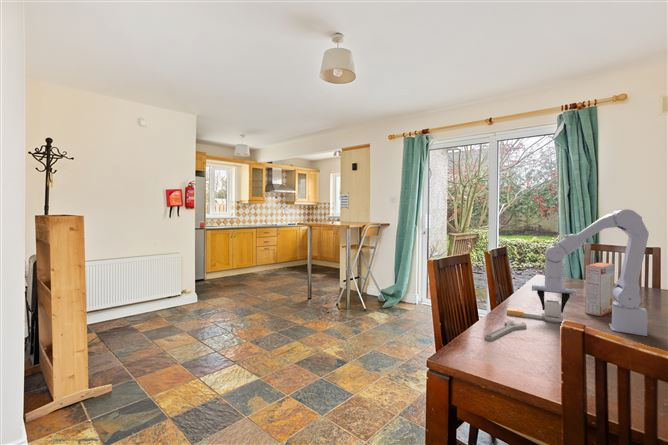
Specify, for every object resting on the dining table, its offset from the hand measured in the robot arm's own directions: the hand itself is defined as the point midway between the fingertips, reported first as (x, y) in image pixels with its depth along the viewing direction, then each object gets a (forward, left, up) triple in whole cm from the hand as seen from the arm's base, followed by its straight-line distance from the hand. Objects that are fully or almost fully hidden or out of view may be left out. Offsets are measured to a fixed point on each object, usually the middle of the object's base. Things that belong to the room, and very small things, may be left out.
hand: (552, 310), depth 130 cm
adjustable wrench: (+15, +24, -4) cm, 29 cm away
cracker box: (-17, -24, -4) cm, 30 cm away
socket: (0, 0, -1) cm, 1 cm away
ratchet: (+6, 0, -4) cm, 7 cm away
